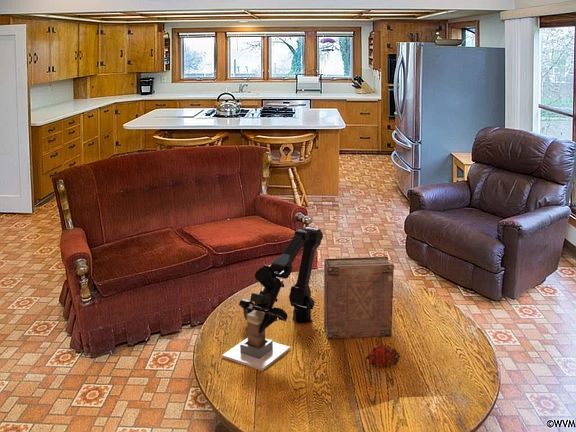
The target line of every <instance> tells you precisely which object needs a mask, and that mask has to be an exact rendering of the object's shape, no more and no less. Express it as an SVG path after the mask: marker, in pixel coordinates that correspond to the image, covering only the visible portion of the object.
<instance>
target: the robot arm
mask: <svg viewBox="0 0 576 432" xmlns="http://www.w3.org/2000/svg"><path fill="white" fill-rule="evenodd" d="M323 238H324V234H323V232H322V230H321V229H320V228H316V227H315V228H314V227H312V226H311V227H310V226H305V227H304V228H299V229H296V230H295V231H294V235H293V237H292V238H291V240H290V241H289V242H288V245H287V247H286V248H285V249H284V251H283V252H282V254H281V255H280V256H278V257H276V258H274V260H273V261H272V263H270V265H268V264H264V265H263V267H260V268H258V269H257V270H256V271H255V274H254V278H255V280H256V281H257V282H258V283H260V285H261V286H262V287H263V290H260V291H259V293H257V292H256V293H254V292H251V294H250V300H249V299H245V298H242V299H240V300H239V303H238V305H239V306H240V308H242V310H243V309H244V310H246V311H248V314H249V313H250V312H252V311H254V310H256V311H260V312H263V313H265V318H264V320H263V323H262V325H261V327H260V330H259V333H262V332H263V331H264V330H265V331H266V329H267V328H268V327H270V326H271V325H272V324H273V323H275V322H278V320H279V321H283V322H287V319H288V313H287V312H286V311H285V310H284V309H283V308H281V307H274V306H275V303H277V302H278V300H279V299H278V295H279V293H280V291H281V288H285V283H284V280H285V279H288V278H289V276H290V275H291V273H292V271H293V262H294V260H295V259H296V258H297V256H298V254H299V252H300V251H301V249H302V247H303V249H302V255H301V259H300V260H301V261H300V265H299V270H298V275H297V281H296V282H295V284H294V285H292V286H291V287H290V291H289V295H288V299H289V303H290V306H291V307H293V310H292V318H291V319H292V320H294V321H295V323H297V324H298V325H302V324H307V323H311V322H313V321H314V320H313V319H312V318H311V315H312V312H311V311H312V310H313V309H314V306H315V300H314V298H312V291H311V288H310V279H311V275H312V274H311V273H312V268H313V265H314V264H313V263H314V259H315V253H316V251H317V249H318V248H319V246H320V245H321V244H322V240H323ZM279 278H281V279H279ZM283 279H284V280H283ZM253 303H254V304H253ZM255 304H257V305H255ZM259 308H260V309H259Z"/></svg>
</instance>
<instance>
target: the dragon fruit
mask: <svg viewBox="0 0 576 432" xmlns="http://www.w3.org/2000/svg"><path fill="white" fill-rule="evenodd" d="M400 358H401V355H400V353H399V352H398V351H397V350H396V349H395V348H394V347H391V346H390V345H388V344H387V345H378V346H377V347H376V346H375V347H373V349H372V350H371V352H370V353H369V354H368V355H367V356H366V357H365V359H366V360H369V364H370V365H371V366H374V367H377V368H378V367H381V370H385V369H387V368H388V369H389V368H392V366H397V364H398V362H399V360H400Z"/></svg>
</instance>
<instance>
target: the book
mask: <svg viewBox="0 0 576 432" xmlns="http://www.w3.org/2000/svg"><path fill="white" fill-rule="evenodd" d="M323 263H324V265H323V266H324V269H323V271H324V272H323V273H324V274H323V275H324V276H323V277H324V278H323V282H324V283H323V285H324V287H323V289H324V290H323V294H324V295H323V299H324V300H323V310H324V311H323V312H324V314H323V316H324V317H323V329H324V332H325V335H326V338H327V340H344V339H365V338H367V339H368V338H372V339H373V338H389V337H392V335H393V334H392V333H393V332H392V328H393V304H394V303H393V299H394V271H395V270H394V267H395V265H394V264H391V263H390V262H389V257H388V256H387V255H386V256H369V257H368V256H367V257H342V258H338V257H337V258H325V259H324V261H323Z"/></svg>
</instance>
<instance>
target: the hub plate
mask: <svg viewBox="0 0 576 432" xmlns="http://www.w3.org/2000/svg"><path fill="white" fill-rule="evenodd" d="M290 350H291V346H288V345H284V344H282V343H279V342H275V341H273V340H272V339H269V338H266V337H265V344H264V345H263V346H261V347H260V348H256V347H253V346H249V345H248V337H246V338H245V339H244V340H242V341H240V342H239V343H237V344H236V345H235V346H234V347H232V348H230V349H229V350H228V351H226V352H225V353H223V354H222V359H225V360H229V361H232V362H236V363H238V364H240V365H244V366H247V367H250V368H253V369H256V370H259V371H263V372H264V371H265V370H266V369H267V368H268V367H270V366H271V365H272V364H274V363H275V362H276V361H278V360H279V359H280V358H282V356H284V355H285V354H286V353H288V352H289V351H290ZM264 369H265V370H264Z"/></svg>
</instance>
